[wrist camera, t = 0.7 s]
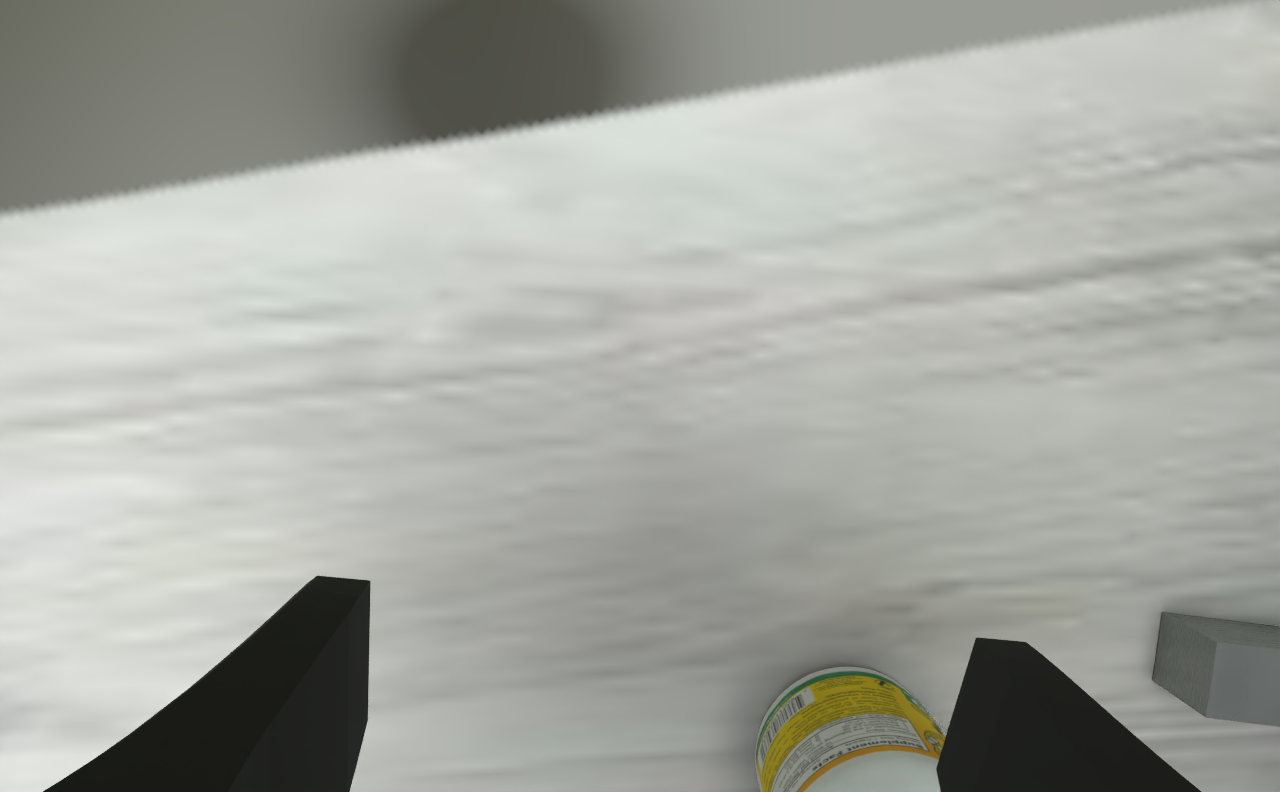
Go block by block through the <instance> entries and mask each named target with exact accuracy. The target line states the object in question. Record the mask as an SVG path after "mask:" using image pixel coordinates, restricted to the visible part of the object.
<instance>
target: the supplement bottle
mask: <svg viewBox="0 0 1280 792" xmlns="http://www.w3.org/2000/svg"><path fill="white" fill-rule="evenodd" d="M944 741H945V736H944V735H943V733H942V732H941V730H940V729H939V727H938V726H937V724H936V723H935V722H934V720H933V719H932V717H931V716H930V715H929V713H928V712H927V711H926V710H925V708H924V707H923V706H922V704H921V703H920V702H919V701H918V700H917V699H916V698H915V697H914V696H913V695H912V694H911V693H910V692H908V691H907V690H906V689H905V688H904V687H903V686H901V685H900V684H899V683H897V682H896V681H895V680H893V679H892V678H890V677H888V676H886V675H884V674H882V673H879V672H877V671H874V670H870V669H866V668H860V667H835V668H829V669H824V670H820V671H817V672H814V673H811V674H809V675H807V676H805V677H803V678H802V679H800V680H798V681H797V682H795V683H793V684H792V685H791V686H790V687H788V688H787V689H786V690H785V691H784V692H783V693H781V694H780V695H779V697H778V698H777V699H776V700H775V701H774V703H773V704H772V706H771V707H770V708H769V710H768V711H767V713H766V715H765V717H764V719H763V721H762V723H761V726H760V729H759V733H758V737H757V741H756V748H755V766H756V773H757V779H758V783H759V788H760V792H941V790H940V785H939V781H938V776H937V771H936V767H937V764H938V761H939V758H940V754H941V751H942V748H943V745H944Z"/></svg>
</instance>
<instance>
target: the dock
mask: <svg viewBox="0 0 1280 792" xmlns="http://www.w3.org/2000/svg"><path fill="white" fill-rule="evenodd" d="M1153 681H1154V682H1156V683H1157V684H1158V685H1160V686H1161V687H1163V688H1164V689H1166V690H1167V691H1169V692H1170V693H1171V694H1173V695H1174V696H1176V697H1177V698H1179V699H1180V700H1182V701H1183V702H1184V703H1186V704H1187V705H1189V706H1190V707H1192V708H1193V709H1195V710H1196V711H1197V712H1199V713H1200V714H1202V715H1203V716H1205V717H1206V718H1215V719H1223V720H1231V721H1239V722H1247V723H1255V724H1263V725H1271V726H1279V727H1280V627H1277V626H1269V625H1260V624H1252V623H1244V622H1236V621H1228V620H1219V619H1211V618H1203V617H1195V616H1186V615H1178V614H1170V613H1162V619H1161V626H1160V633H1159V640H1158V647H1157V653H1156V660H1155V667H1154V674H1153Z"/></svg>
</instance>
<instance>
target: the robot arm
mask: <svg viewBox="0 0 1280 792" xmlns="http://www.w3.org/2000/svg"><path fill="white" fill-rule="evenodd" d="M369 624H370V581H368V580H357V579H346V578H336V577H325V576H316V577H315V578H314V579H312V580H311V581H310V582H308V583H307V584H306V585H305V586H304V587H303V588H302V589H301V590H300V591H298V592H297V593H296V594H295V595H294V596H293V597H292V598H291V599H290V600H289V601H288V602H287V603H286V604H285V605H283V606H282V607H281V608H280V609H279V610H278V611H277V612H276V613H275V614H274V615H273V616H272V617H271V618H269V619H268V620H267V621H266V622H265V623H264V624H263V625H262V626H261V627H260V628H258V629H257V630H256V631H255V632H254V633H253V634H252V635H251V636H250V637H249V638H247V639H246V640H245V641H244V642H243V643H242V644H241V645H240V646H238V647H237V648H236V649H235V650H234V651H233V652H231V653H230V654H229V655H228V656H227V657H226V658H224V659H223V660H222V661H221V662H220V663H218V664H217V665H216V666H215V667H214V668H213V669H211V670H210V671H209V672H208V673H207V674H206V675H204V676H203V677H202V678H201V679H200V680H199V681H197V682H196V683H195V684H194V685H192V686H191V687H190V688H189V689H188V690H186V691H185V692H184V693H182V694H181V695H180V696H179V697H177V698H176V699H175V700H173V701H172V702H171V703H169V704H168V705H167V706H166V707H164V708H163V709H162V710H160V711H159V712H158V713H157V714H155V715H154V716H153V717H151V718H150V719H149V720H147V721H146V722H145V723H144V724H142V725H141V726H140V727H138V728H137V729H136V730H134V731H133V732H132V733H130V734H129V735H128V736H126V737H125V738H123V739H122V740H121V741H119V742H118V743H116V744H115V745H114V746H112V747H111V748H109V749H108V750H107V751H105V752H104V753H102V754H101V755H99V756H98V757H96V758H95V759H93V760H92V761H90V762H89V763H87V764H86V765H84V766H83V767H81V768H80V769H78V770H77V771H75V772H73V773H72V774H70V775H69V776H67V777H66V778H64V779H63V780H61V781H59V782H58V783H56V784H55V785H53V786H51V787H50V788H48V789H47V790H45V791H43V792H349V791H350V787H351V784H352V780H353V776H354V772H355V769H356V765H357V761H358V757H359V753H360V749H361V745H362V741H363V737H364V733H365V729H366V725H367V721H368V676H369ZM936 771H937V776H938V781H939V785H940V790H941V792H1201V791H1200V790H1199V789H1197V788H1196V787H1195V786H1194V785H1193V784H1191V783H1190V782H1189V781H1188V780H1186V779H1185V778H1184V777H1183V776H1182V775H1180V774H1179V773H1178V772H1177V771H1176V770H1174V769H1173V768H1172V767H1171V766H1170V765H1168V764H1167V763H1166V762H1165V761H1164V760H1163V759H1161V758H1160V757H1159V756H1158V755H1157V754H1155V753H1154V752H1153V751H1152V750H1151V749H1150V748H1148V747H1147V746H1146V745H1145V744H1144V743H1143V742H1142V741H1140V740H1139V739H1138V738H1137V737H1136V736H1135V735H1133V734H1132V733H1131V732H1130V731H1129V730H1128V729H1127V728H1125V727H1124V726H1123V725H1122V724H1121V723H1120V722H1119V721H1117V720H1116V719H1115V718H1114V717H1113V716H1112V715H1111V714H1110V713H1108V712H1107V711H1106V710H1105V709H1104V708H1103V707H1102V706H1100V705H1099V704H1098V703H1097V702H1096V701H1095V700H1094V699H1093V698H1091V697H1090V696H1089V695H1088V694H1087V693H1086V692H1085V691H1084V690H1082V689H1081V688H1080V687H1079V686H1078V685H1077V684H1076V683H1074V682H1073V681H1072V680H1071V679H1070V678H1069V677H1068V676H1066V675H1065V674H1064V673H1063V672H1062V671H1061V670H1060V669H1058V668H1057V667H1056V666H1055V665H1054V664H1052V663H1051V662H1050V661H1049V660H1048V659H1047V658H1045V657H1044V656H1043V655H1042V654H1040V653H1039V652H1038V651H1037V650H1035V649H1034V648H1033V647H1031V646H1030V645H1029V644H1028V643H1026V642H1019V641H1008V640H997V639H987V638H976V640H975V643H974V646H973V650H972V653H971V656H970V660H969V663H968V666H967V669H966V673H965V676H964V679H963V682H962V686H961V689H960V692H959V695H958V699H957V702H956V705H955V709H954V712H953V715H952V718H951V722H950V725H949V728H948V731H947V735H946V738H945V741H944V745H943V748H942V751H941V754H940V758H939V761H938V764H937V767H936Z"/></svg>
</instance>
